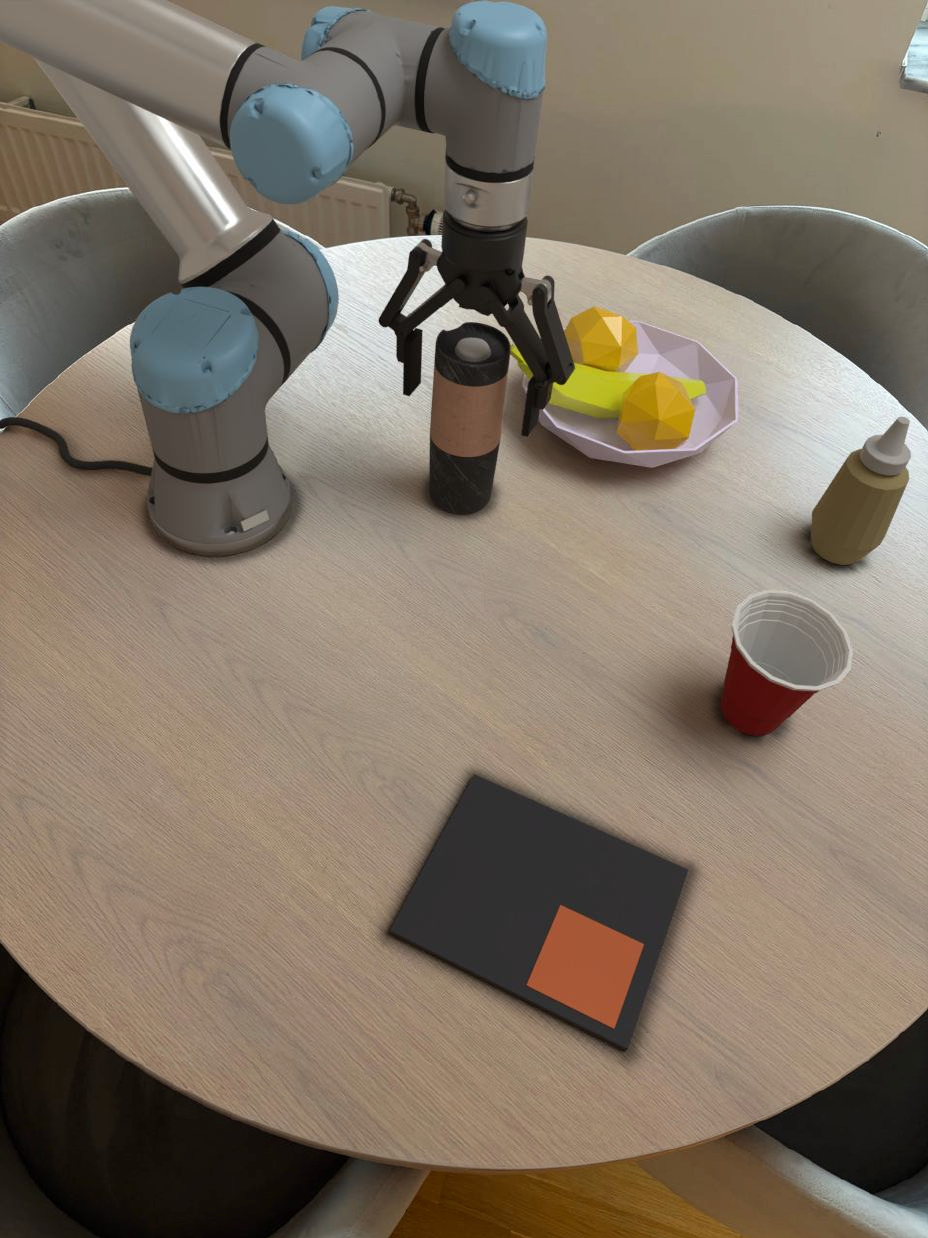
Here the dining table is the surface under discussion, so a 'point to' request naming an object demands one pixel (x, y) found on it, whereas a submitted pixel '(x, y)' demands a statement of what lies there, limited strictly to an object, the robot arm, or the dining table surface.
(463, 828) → the mat
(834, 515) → the squeeze bottle
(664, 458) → the fruit bowl
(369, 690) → the dining table surface
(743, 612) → the plastic cup
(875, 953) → the dining table surface
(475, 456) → the travel mug
